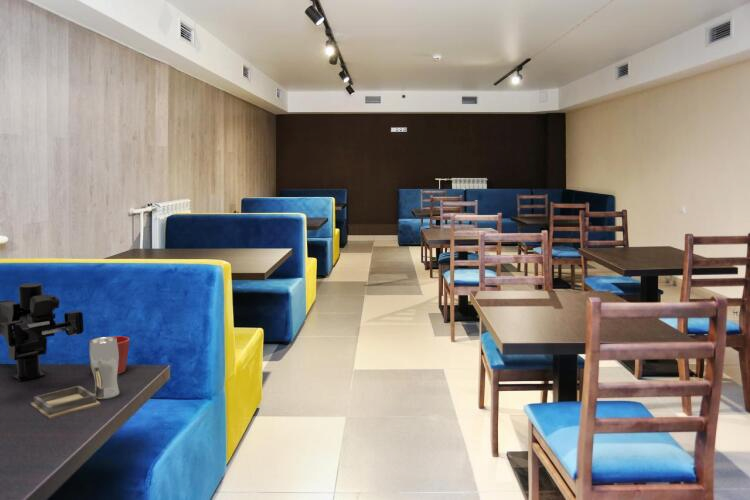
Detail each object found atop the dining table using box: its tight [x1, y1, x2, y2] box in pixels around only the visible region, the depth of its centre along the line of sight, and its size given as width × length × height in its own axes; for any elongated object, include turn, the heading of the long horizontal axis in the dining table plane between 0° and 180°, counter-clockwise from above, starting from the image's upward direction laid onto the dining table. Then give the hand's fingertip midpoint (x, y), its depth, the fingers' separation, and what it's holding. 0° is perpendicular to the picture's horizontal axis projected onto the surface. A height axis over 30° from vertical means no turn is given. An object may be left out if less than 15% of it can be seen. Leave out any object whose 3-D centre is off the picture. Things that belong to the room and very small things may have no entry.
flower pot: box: [88, 335, 130, 375], centre depth 177 cm, size 11×11×10 cm
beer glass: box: [88, 336, 120, 400], centre depth 158 cm, size 7×7×15 cm
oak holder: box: [30, 385, 102, 420], centre depth 152 cm, size 14×12×2 cm
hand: (57, 334), depth 156 cm, fingers open, 9 cm apart
